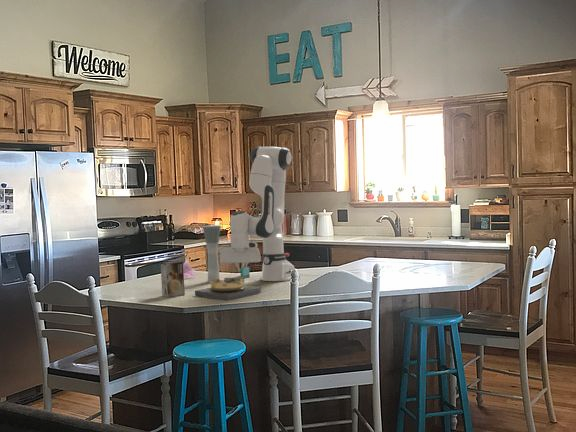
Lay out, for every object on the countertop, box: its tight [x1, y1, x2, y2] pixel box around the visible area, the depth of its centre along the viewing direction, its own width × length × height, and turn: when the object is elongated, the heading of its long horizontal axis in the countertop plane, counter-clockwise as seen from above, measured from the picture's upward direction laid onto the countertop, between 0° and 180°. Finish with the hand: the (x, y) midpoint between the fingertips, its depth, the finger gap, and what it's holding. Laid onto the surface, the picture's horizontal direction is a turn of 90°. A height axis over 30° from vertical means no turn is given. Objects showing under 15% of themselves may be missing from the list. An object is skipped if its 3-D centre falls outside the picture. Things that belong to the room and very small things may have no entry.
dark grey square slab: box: [194, 285, 262, 301], centre depth 310 cm, size 22×22×3 cm
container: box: [202, 224, 222, 283], centre depth 350 cm, size 10×10×30 cm
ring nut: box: [210, 266, 251, 291], centre depth 313 cm, size 24×16×8 cm
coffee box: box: [160, 260, 186, 298], centre depth 312 cm, size 9×6×16 cm
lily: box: [183, 259, 196, 281], centre depth 367 cm, size 12×12×10 cm
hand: (240, 272), depth 322 cm, fingers closed
